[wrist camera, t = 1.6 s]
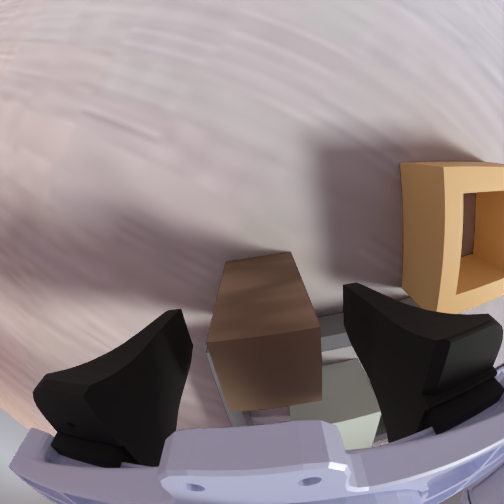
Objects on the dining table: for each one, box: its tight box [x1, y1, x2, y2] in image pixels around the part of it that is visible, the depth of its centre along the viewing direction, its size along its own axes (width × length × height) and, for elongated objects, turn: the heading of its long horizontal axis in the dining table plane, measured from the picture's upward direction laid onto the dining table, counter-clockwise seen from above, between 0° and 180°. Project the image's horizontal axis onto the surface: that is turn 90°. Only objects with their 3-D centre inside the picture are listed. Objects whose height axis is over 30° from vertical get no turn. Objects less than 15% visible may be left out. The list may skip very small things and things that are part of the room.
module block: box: [289, 358, 381, 450], centre depth 15 cm, size 5×5×5 cm
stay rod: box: [206, 252, 322, 412], centre depth 12 cm, size 3×3×7 cm
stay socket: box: [400, 161, 504, 314], centre depth 12 cm, size 7×7×4 cm
